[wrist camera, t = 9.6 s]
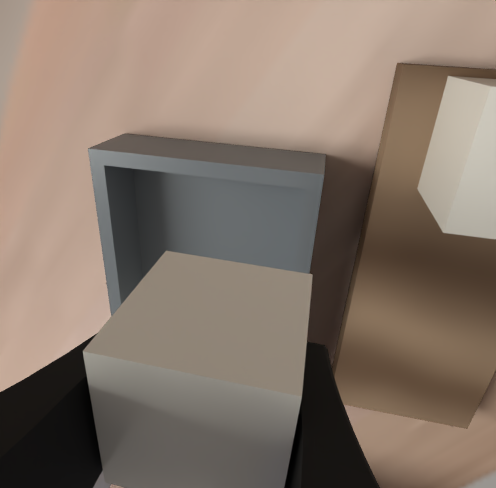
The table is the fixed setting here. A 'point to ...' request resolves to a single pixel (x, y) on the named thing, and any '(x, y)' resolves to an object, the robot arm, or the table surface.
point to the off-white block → (463, 159)
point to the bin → (202, 205)
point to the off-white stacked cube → (201, 375)
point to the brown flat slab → (416, 280)
